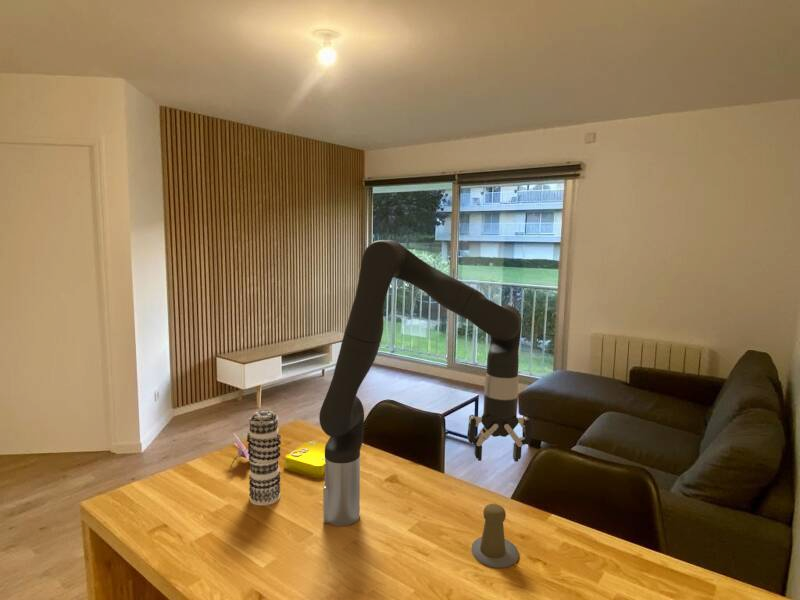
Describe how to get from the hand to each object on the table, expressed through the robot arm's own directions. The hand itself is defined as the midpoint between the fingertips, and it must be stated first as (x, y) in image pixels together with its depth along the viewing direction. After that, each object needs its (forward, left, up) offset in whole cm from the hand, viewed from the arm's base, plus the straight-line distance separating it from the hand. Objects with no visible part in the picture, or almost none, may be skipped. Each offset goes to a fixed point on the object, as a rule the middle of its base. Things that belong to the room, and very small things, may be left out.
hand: (497, 459), depth 111 cm
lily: (-73, +42, -24) cm, 87 cm away
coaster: (0, 0, -23) cm, 23 cm away
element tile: (-50, +43, -24) cm, 70 cm away
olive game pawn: (0, 0, -23) cm, 23 cm away
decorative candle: (-61, +23, -23) cm, 69 cm away
